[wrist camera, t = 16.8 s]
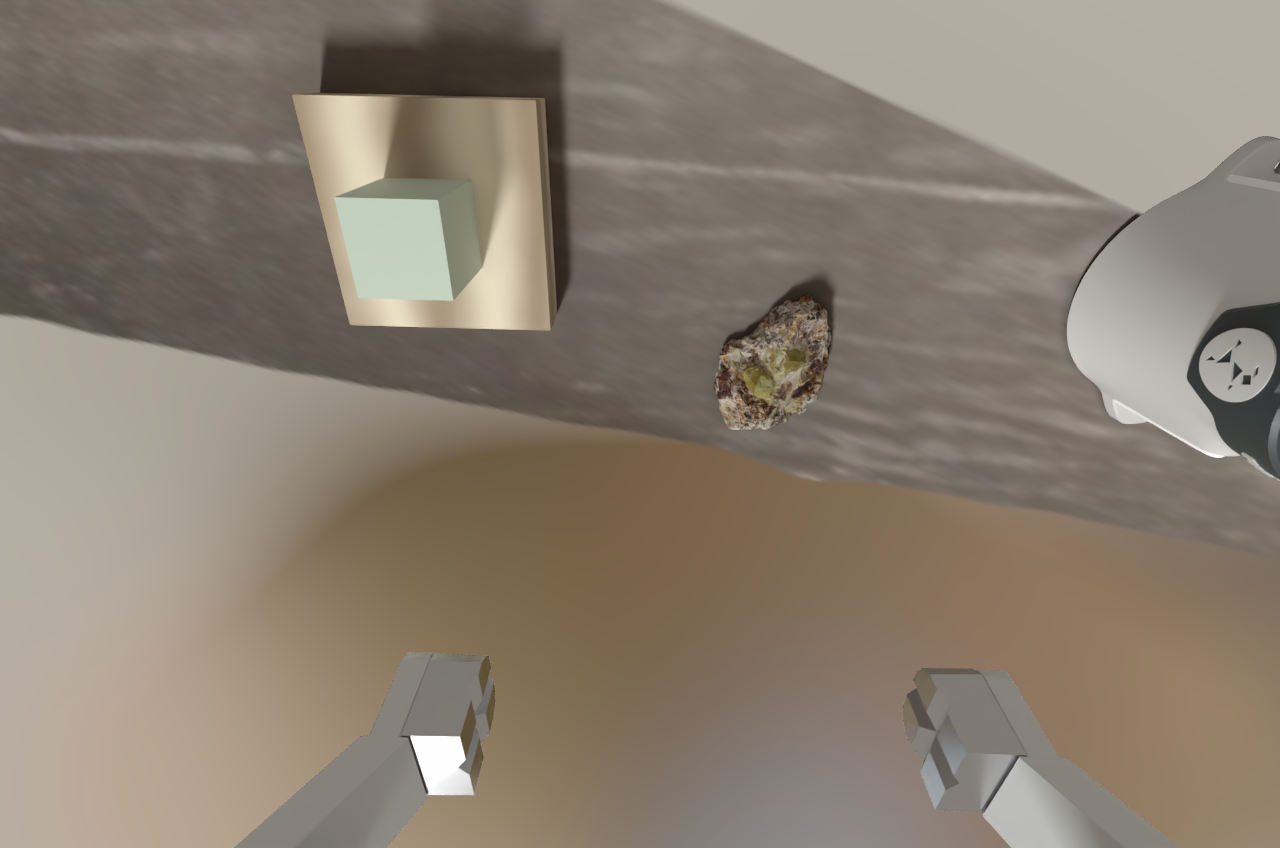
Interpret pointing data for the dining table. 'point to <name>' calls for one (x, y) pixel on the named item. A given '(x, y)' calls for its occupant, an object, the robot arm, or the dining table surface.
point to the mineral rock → (774, 366)
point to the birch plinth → (445, 149)
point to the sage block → (411, 238)
